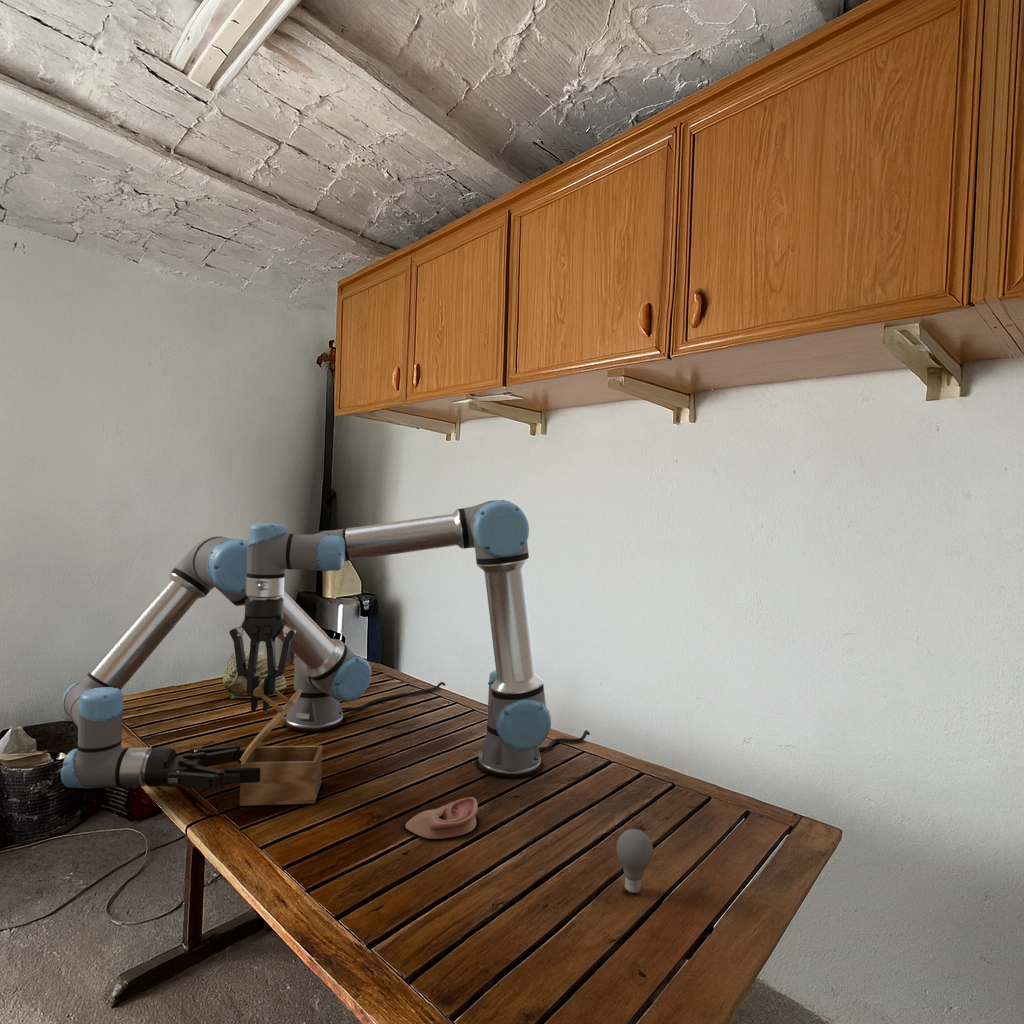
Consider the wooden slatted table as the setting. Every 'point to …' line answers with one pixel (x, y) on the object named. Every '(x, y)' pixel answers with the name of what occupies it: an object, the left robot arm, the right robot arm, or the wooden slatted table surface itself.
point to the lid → (275, 719)
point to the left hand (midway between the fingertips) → (265, 765)
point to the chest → (283, 775)
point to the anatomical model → (445, 820)
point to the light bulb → (634, 857)
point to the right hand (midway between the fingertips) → (260, 708)
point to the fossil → (239, 683)
